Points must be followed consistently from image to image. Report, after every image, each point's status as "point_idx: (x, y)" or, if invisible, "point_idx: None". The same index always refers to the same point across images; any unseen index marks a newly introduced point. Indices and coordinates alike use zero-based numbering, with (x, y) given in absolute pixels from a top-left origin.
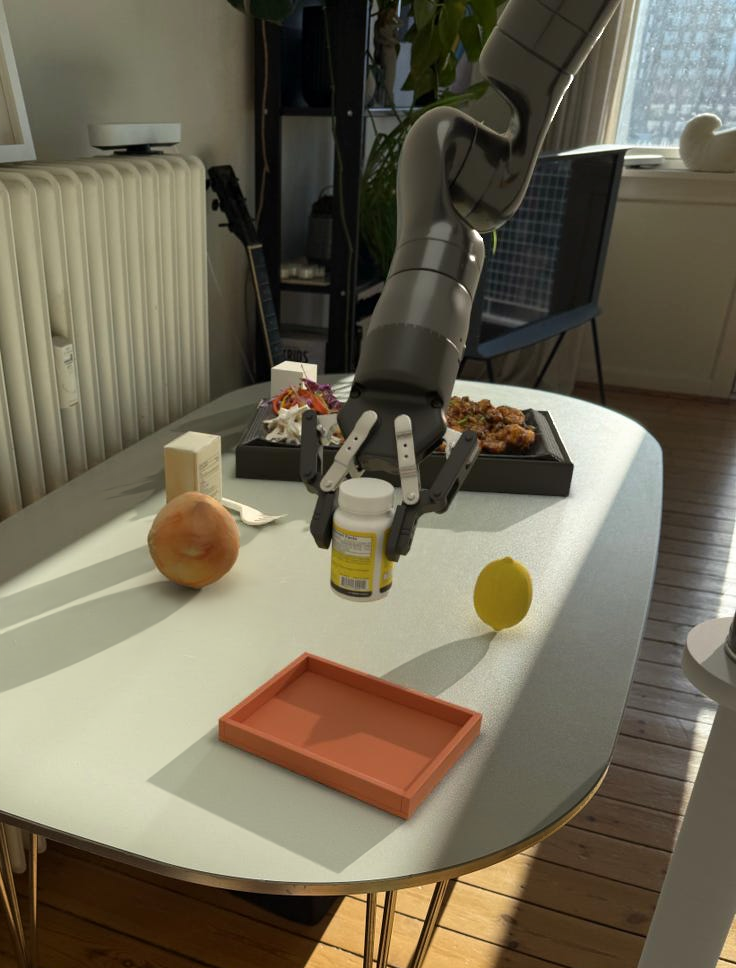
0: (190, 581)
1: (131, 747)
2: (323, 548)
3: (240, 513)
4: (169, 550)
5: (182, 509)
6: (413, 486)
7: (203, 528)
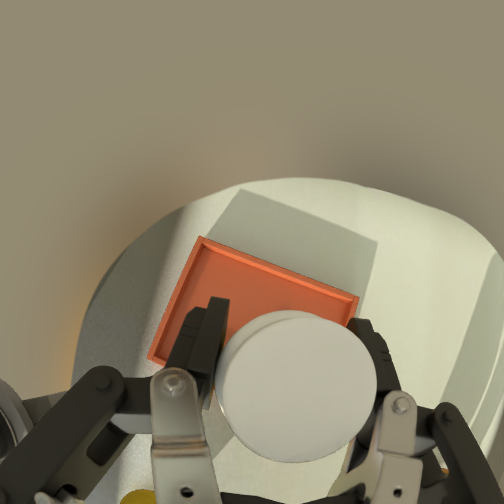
0: None
1: (399, 273)
2: None
3: None
4: (447, 473)
5: None
6: (165, 411)
7: None
